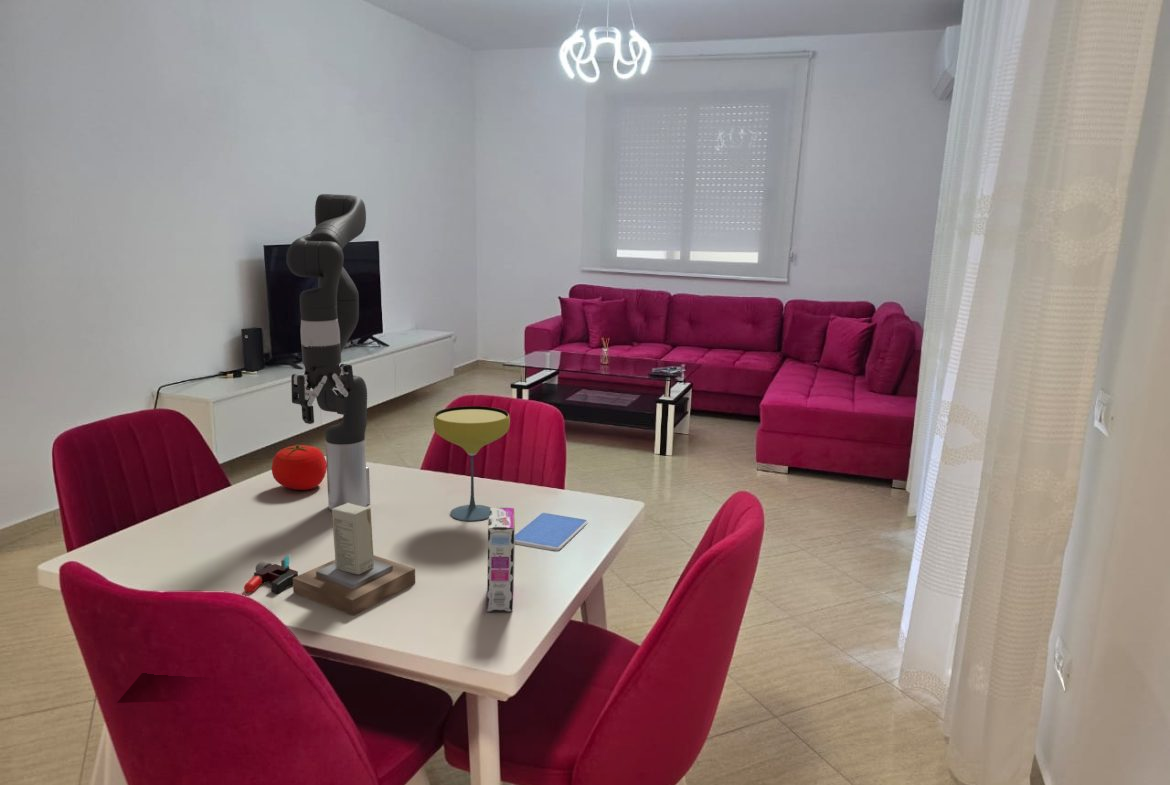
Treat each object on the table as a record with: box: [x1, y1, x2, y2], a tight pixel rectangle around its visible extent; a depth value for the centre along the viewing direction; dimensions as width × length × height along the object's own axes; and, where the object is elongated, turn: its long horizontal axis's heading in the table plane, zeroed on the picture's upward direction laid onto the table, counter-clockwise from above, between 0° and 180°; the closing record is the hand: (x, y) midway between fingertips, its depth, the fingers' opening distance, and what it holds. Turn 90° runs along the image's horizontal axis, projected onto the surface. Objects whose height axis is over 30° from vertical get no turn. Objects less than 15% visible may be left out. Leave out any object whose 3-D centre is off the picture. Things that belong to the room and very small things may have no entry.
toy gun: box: [243, 554, 299, 595], centre depth 151 cm, size 10×12×5 cm
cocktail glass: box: [433, 405, 511, 522], centre depth 188 cm, size 18×18×25 cm
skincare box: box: [331, 503, 374, 575], centre depth 149 cm, size 6×4×12 cm
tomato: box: [271, 444, 327, 491], centre depth 205 cm, size 13×14×12 cm
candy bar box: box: [486, 507, 516, 613], centre depth 146 cm, size 11×5×16 cm, turn 5°
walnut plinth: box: [292, 554, 416, 616], centre depth 150 cm, size 16×16×4 cm
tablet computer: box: [515, 512, 589, 552], centre depth 181 cm, size 19×13×1 cm, turn 159°
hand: (325, 418), depth 161 cm, fingers open, 8 cm apart
